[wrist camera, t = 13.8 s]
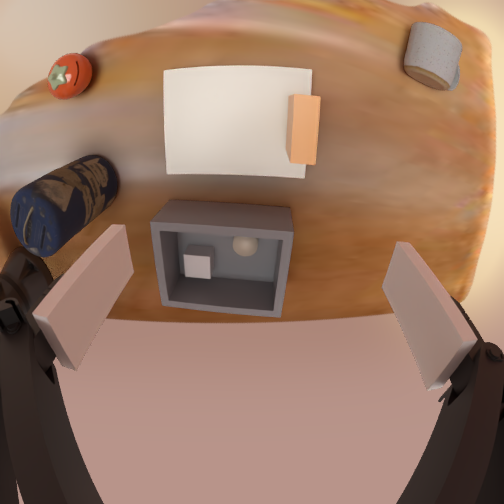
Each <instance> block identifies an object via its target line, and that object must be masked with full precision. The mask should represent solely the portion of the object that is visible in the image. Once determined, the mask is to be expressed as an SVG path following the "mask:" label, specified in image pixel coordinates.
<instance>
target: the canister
mask: <svg viewBox="0 0 504 504" xmlns="http://www.w3.org/2000/svg"><path fill="white" fill-rule="evenodd" d="M116 192H117V179H116V175H115V172H114V170H113V168H112V167H111V165H110V164H109V163H108V162H107V161H106V160H104V159H103V158H101V157H99V156H94V155H90V156H85V157H82V158H80V159H78V160H76V161H74V162H71V163H69V164H67V165H65V166H63V167H61V168H58V169H56V170H54V171H52V172H50V173H48V174H46V175H44V176H42V177H41V178H39V179H37V180H35V181H33V182H31V183H30V184H28V185H26V186H24V187H23V188H21V189H20V190H19V191H18V192H17V193H16V194H15V195H14V197H13V199H12V202H11V209H10V215H11V222H12V226H13V229H14V231H15V234H16V236H17V238H18V239H19V241H20V242H21V244H22V245H23V246H24V247H25V248H26V249H27V250H28V251H29V252H30V253H32V254H34V255H36V256H39V257H49V256H51V255H53V254H54V253H56V252H57V251H58V250H59V249H60V248H61V247H62V246H63V245H64V244H65V243H67V242H68V241H69V240H70V239H71V238H72V237H73V236H74V235H75V234H77V233H78V232H79V231H81V230H82V229H83V228H84V227H85V226H86V225H88V224H89V223H90V222H91V221H92V220H93V219H95V218H96V217H97V216H98V215H99V214H100V213H101V212H103V211H104V210H105V209H106V208H107V207H109V206H110V205H111V203H112V202H113V200H114V198H115V196H116Z"/></svg>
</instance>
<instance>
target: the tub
mask: <svg viewBox="0 0 504 504" xmlns="http://www.w3.org/2000/svg"><path fill="white" fill-rule="evenodd" d="M150 226H151V234H152V243H153V250H154V258H155V265H156V272H157V278H158V284H159V290H160V296H161V302H162V305H163V306H170V307H178V308H186V309H194V310H203V311H212V312H221V313H232V314H243V315H254V316H267V317H281V312H282V306H283V300H284V294H285V288H286V282H287V276H288V269H289V263H290V256H291V250H292V243H293V236H294V229H293V223H292V217H291V211H290V208H288V207H277V206H266V205H253V204H240V203H225V202H208V201H189V200H169V201H168V202H167V203H166V204H165V205H164V206H163V208H162V209H161V210H160V211H159V212H158V213H157V214H156V215H155V217H154V218H153V219H152V220H151V221H150Z"/></svg>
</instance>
